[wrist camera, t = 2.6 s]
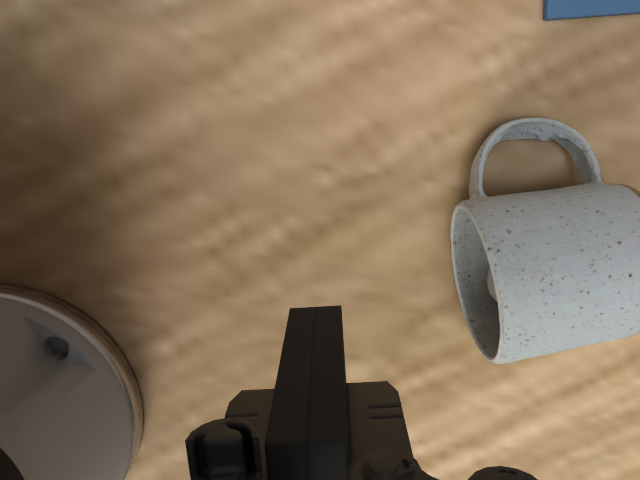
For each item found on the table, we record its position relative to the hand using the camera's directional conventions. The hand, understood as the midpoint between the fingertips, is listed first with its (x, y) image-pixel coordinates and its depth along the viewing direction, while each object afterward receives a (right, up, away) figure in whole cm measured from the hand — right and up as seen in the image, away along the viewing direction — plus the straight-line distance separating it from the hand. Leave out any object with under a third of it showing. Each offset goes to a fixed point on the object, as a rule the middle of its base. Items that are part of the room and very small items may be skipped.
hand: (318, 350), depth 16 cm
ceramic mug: (+11, +4, +13) cm, 17 cm away
